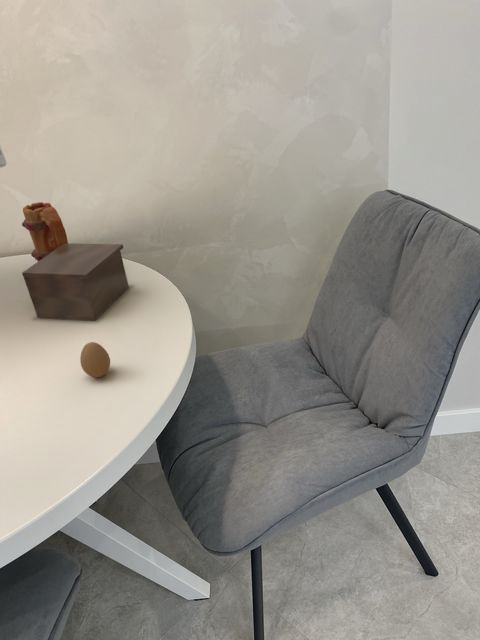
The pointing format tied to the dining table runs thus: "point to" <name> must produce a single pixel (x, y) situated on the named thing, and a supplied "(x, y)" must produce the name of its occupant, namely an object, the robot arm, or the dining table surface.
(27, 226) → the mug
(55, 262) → the chest lid
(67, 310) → the chest
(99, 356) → the egg
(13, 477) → the dining table surface
